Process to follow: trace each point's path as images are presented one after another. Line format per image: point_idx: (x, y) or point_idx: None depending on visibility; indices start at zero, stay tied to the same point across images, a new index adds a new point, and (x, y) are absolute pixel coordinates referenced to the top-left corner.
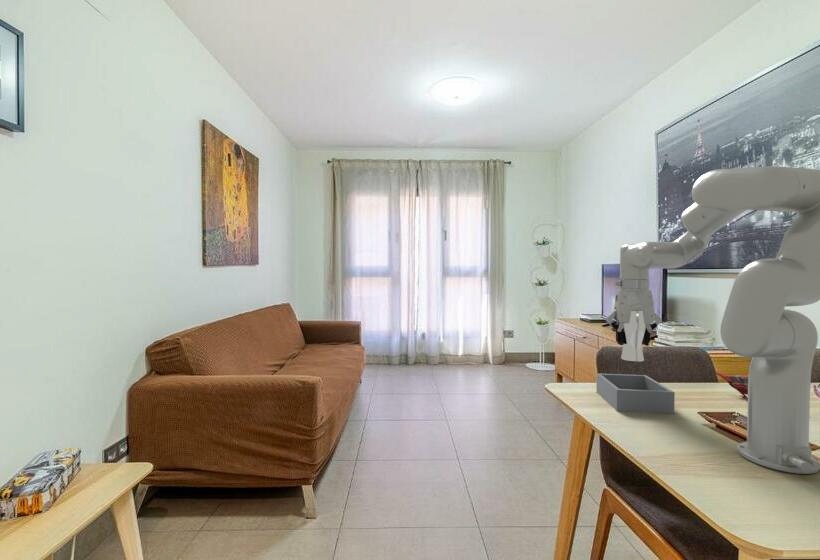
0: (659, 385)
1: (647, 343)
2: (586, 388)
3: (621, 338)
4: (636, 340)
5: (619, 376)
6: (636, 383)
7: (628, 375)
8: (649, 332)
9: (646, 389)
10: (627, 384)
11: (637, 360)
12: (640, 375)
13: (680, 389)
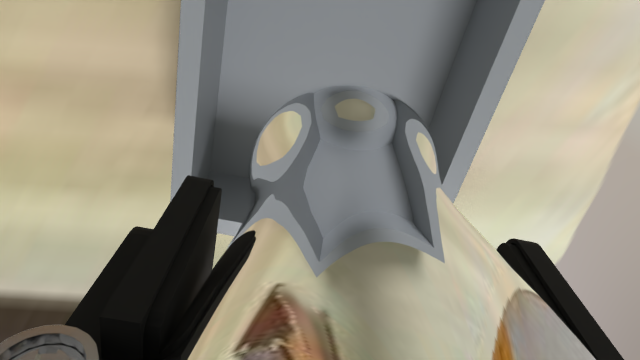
0: (204, 15)
1: (199, 190)
2: None
3: (579, 301)
4: (406, 196)
5: None
6: (236, 197)
7: None
8: (67, 350)
9: (207, 153)
10: None
11: (361, 84)
12: None
13: (6, 216)
